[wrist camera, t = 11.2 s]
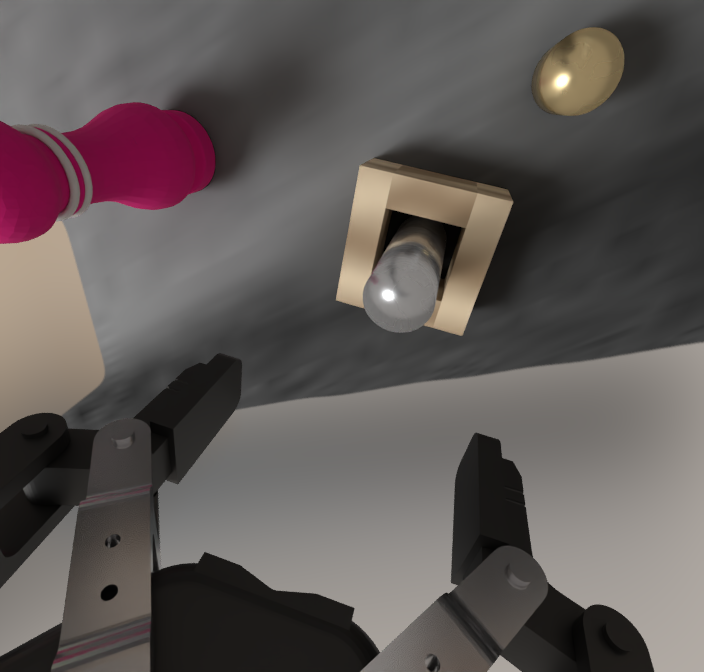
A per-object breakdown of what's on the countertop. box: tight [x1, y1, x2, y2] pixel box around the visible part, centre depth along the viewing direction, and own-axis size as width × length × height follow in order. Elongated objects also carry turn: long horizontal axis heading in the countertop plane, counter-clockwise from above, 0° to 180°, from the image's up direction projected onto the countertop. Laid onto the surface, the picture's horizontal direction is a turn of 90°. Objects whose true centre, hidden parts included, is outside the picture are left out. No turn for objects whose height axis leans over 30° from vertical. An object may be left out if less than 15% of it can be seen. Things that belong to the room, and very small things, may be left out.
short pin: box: [532, 27, 624, 116], centre depth 23 cm, size 4×4×4 cm
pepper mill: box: [0, 102, 215, 244], centre depth 25 cm, size 7×7×20 cm
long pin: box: [363, 215, 447, 333], centre depth 27 cm, size 4×4×12 cm
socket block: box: [336, 158, 513, 336], centre depth 30 cm, size 10×10×4 cm
